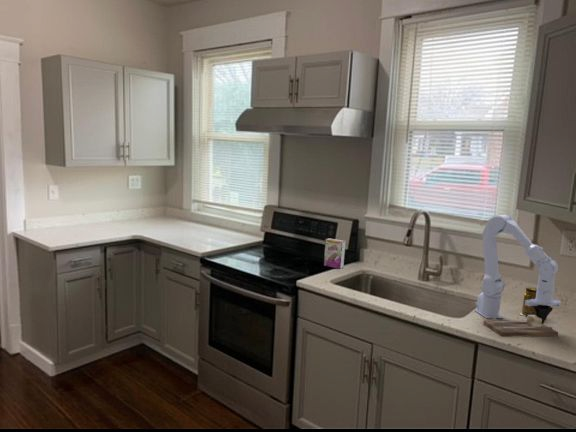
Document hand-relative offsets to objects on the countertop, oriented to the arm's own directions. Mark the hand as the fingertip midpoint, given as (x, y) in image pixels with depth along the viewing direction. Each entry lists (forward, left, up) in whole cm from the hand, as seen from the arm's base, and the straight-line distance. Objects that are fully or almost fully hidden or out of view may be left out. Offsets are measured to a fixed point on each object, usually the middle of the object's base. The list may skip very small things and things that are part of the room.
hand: (540, 322), depth 177 cm
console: (0, -9, -3) cm, 9 cm away
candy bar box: (-94, -63, -3) cm, 113 cm away
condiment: (-16, +8, -3) cm, 18 cm away
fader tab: (0, -3, -1) cm, 3 cm away
